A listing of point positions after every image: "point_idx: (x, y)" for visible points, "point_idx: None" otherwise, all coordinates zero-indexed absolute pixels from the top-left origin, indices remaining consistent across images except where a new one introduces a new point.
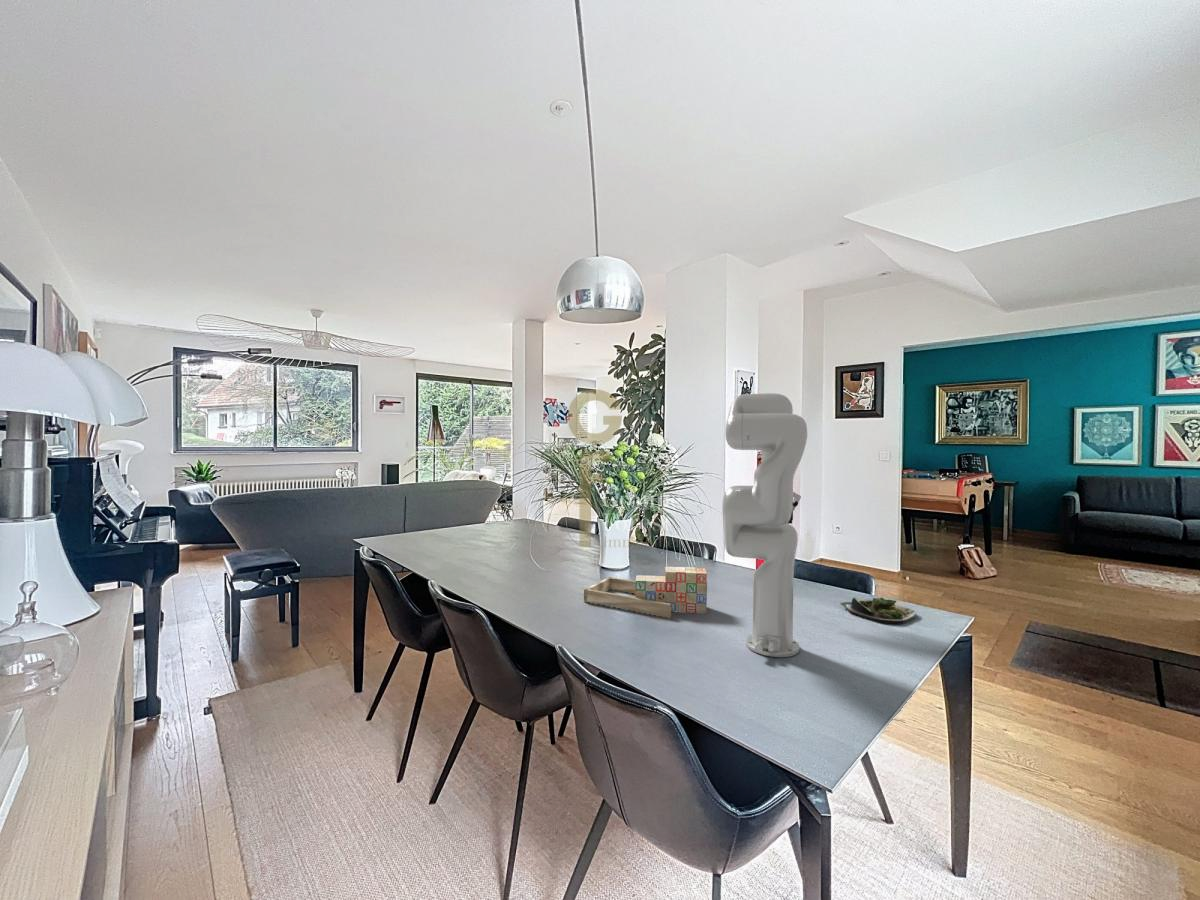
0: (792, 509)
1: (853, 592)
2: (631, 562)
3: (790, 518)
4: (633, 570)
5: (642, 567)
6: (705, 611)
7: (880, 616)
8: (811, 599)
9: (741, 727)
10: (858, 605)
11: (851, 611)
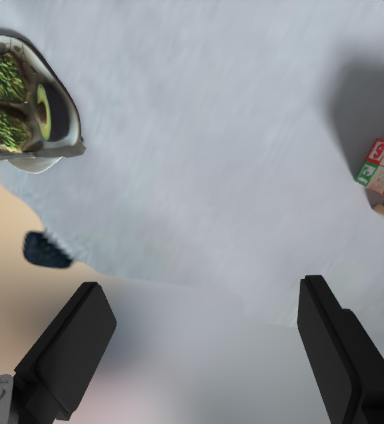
0: (4, 389)
1: (46, 224)
2: None
3: (76, 308)
4: None
5: None
6: (382, 139)
7: (27, 78)
8: (126, 199)
9: None
10: (54, 101)
11: (75, 108)
